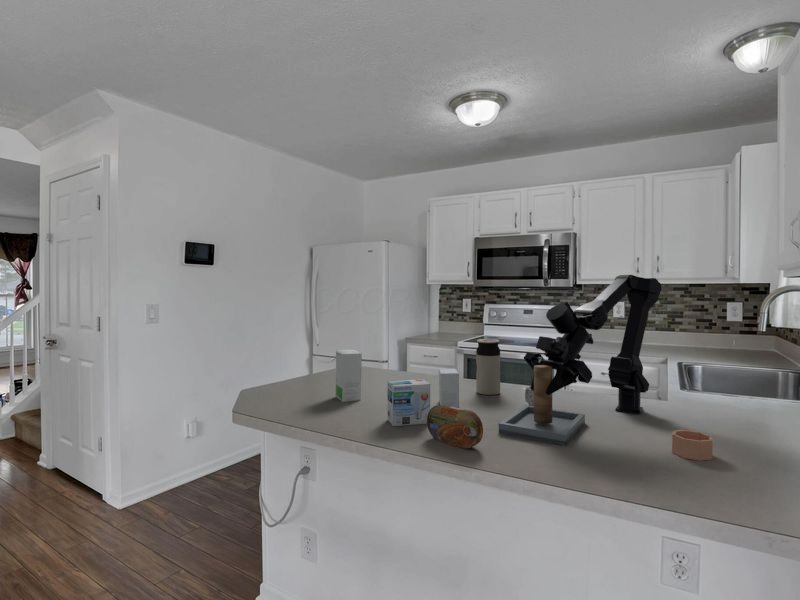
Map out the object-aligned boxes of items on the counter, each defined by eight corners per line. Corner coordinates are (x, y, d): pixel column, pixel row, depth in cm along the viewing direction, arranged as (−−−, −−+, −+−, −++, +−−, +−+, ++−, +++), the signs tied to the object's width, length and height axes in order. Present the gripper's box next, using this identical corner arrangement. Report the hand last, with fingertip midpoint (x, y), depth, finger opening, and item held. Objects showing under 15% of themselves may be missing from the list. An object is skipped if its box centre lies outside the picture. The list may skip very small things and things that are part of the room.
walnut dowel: (549, 418, 117) (549, 365, 117) (554, 423, 113) (554, 368, 112) (531, 418, 117) (531, 365, 117) (536, 423, 113) (536, 368, 112)
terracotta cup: (673, 445, 102) (673, 428, 102) (712, 451, 98) (712, 433, 98) (671, 455, 96) (671, 437, 96) (712, 462, 92) (712, 443, 92)
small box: (459, 408, 134) (459, 373, 134) (440, 408, 134) (440, 373, 134) (456, 401, 142) (456, 368, 142) (438, 401, 142) (438, 368, 142)
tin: (426, 437, 109) (425, 402, 109) (434, 434, 111) (434, 400, 111) (477, 453, 98) (476, 415, 98) (485, 449, 100) (485, 412, 100)
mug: (557, 412, 130) (557, 389, 129) (538, 414, 127) (538, 391, 127) (534, 403, 139) (534, 382, 139) (516, 406, 136) (516, 384, 136)
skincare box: (335, 396, 149) (334, 350, 149) (354, 394, 152) (353, 348, 151) (342, 402, 141) (342, 353, 141) (362, 400, 144) (362, 352, 144)
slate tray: (525, 413, 128) (525, 405, 128) (584, 423, 119) (584, 413, 119) (498, 433, 111) (498, 423, 111) (565, 445, 102) (565, 435, 102)
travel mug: (503, 391, 155) (503, 339, 154) (495, 396, 148) (495, 342, 147) (481, 389, 159) (481, 338, 158) (472, 393, 152) (472, 340, 152)
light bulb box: (392, 427, 117) (392, 386, 116) (386, 419, 123) (386, 380, 123) (431, 423, 120) (431, 383, 119) (423, 416, 126) (423, 378, 126)
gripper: (528, 322, 124) (497, 365, 120) (584, 328, 108) (550, 378, 103) (549, 348, 128) (520, 391, 123) (606, 357, 112) (574, 407, 107)
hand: (539, 391), depth 114 cm, fingers open, 5 cm apart
